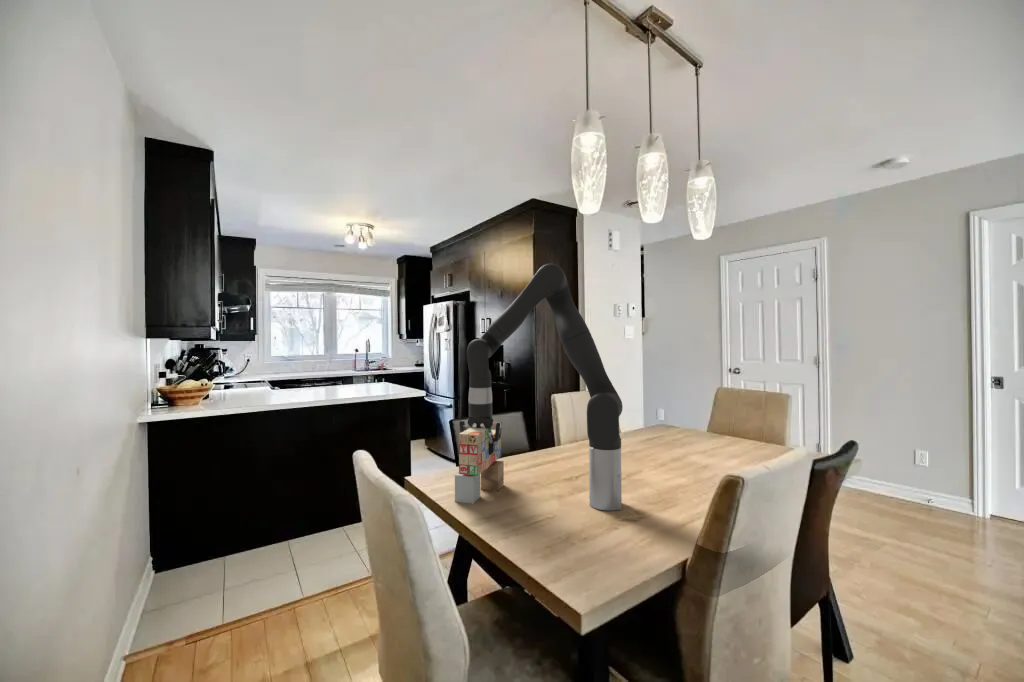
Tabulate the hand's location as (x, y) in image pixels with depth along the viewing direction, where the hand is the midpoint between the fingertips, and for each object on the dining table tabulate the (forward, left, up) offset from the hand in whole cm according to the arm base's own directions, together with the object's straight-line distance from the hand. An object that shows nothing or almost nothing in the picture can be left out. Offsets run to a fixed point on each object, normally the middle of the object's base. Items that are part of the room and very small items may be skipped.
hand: (480, 453), depth 133 cm
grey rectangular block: (+2, +6, -13) cm, 14 cm away
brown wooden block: (-2, -6, -13) cm, 14 cm away
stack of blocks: (0, -1, -4) cm, 4 cm away
